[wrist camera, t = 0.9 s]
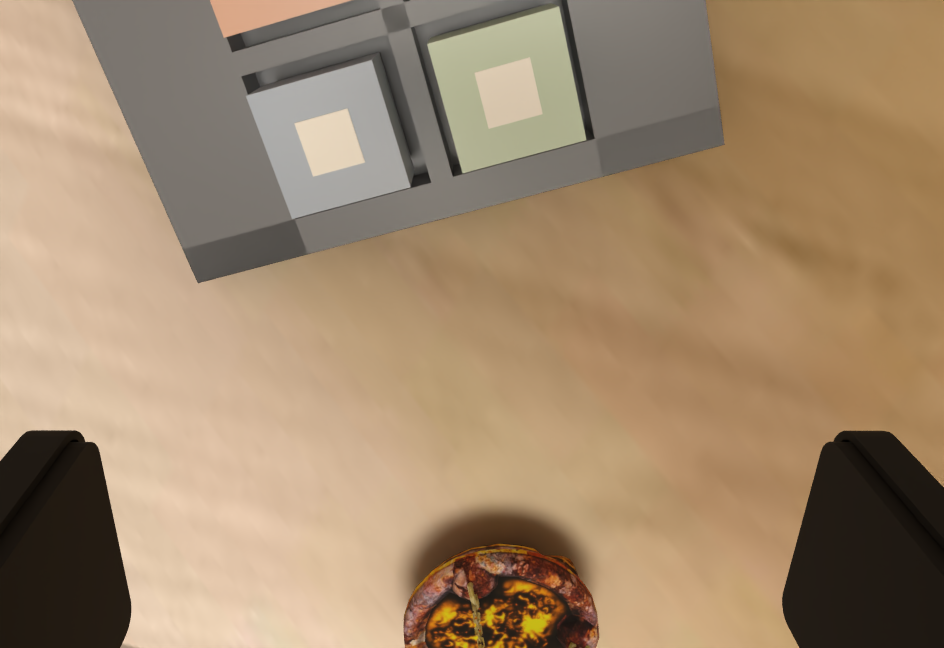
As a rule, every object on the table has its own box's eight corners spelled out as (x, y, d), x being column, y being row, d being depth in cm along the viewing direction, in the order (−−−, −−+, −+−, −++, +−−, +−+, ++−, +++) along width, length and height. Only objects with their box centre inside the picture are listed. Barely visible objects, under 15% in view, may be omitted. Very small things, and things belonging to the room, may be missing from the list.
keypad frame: (645, -314, 24) (660, -338, 22) (708, 134, 30) (724, 144, 28) (46, -121, 26) (15, -128, 24) (213, 265, 31) (198, 283, 30)
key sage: (550, 3, 26) (559, 6, 24) (576, 126, 28) (586, 140, 26) (429, 37, 27) (427, 44, 24) (462, 156, 28) (462, 174, 26)
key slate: (379, 52, 27) (371, 60, 24) (414, 169, 28) (410, 187, 26) (263, 85, 27) (245, 96, 25) (305, 199, 29) (291, 219, 27)
